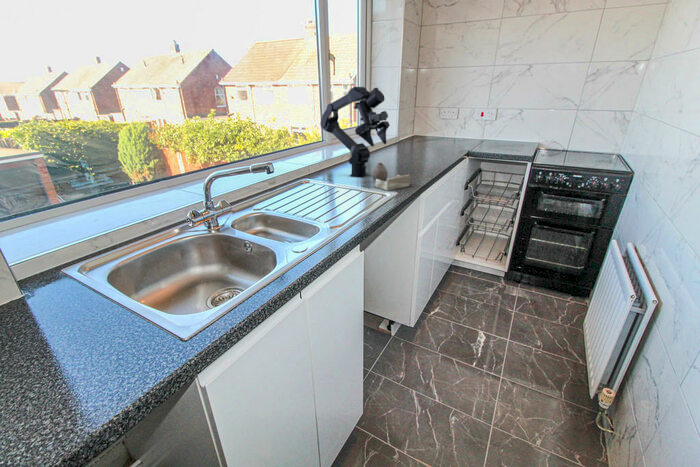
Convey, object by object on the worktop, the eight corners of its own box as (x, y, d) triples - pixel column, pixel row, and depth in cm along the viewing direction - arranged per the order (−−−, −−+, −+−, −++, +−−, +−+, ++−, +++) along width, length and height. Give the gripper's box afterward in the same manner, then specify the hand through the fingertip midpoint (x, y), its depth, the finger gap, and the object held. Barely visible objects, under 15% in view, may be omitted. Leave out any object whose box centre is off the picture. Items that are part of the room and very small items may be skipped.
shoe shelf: (375, 186, 147) (375, 175, 145) (396, 181, 155) (397, 171, 153) (388, 190, 141) (388, 179, 139) (409, 185, 148) (410, 174, 146)
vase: (371, 183, 152) (371, 164, 148) (373, 179, 158) (374, 161, 155) (386, 184, 150) (386, 165, 147) (388, 180, 157) (388, 162, 153)
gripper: (365, 105, 139) (379, 139, 140) (391, 103, 152) (403, 135, 152) (348, 117, 147) (361, 150, 148) (375, 115, 160) (386, 145, 160)
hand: (379, 145), depth 152 cm, fingers open, 9 cm apart
